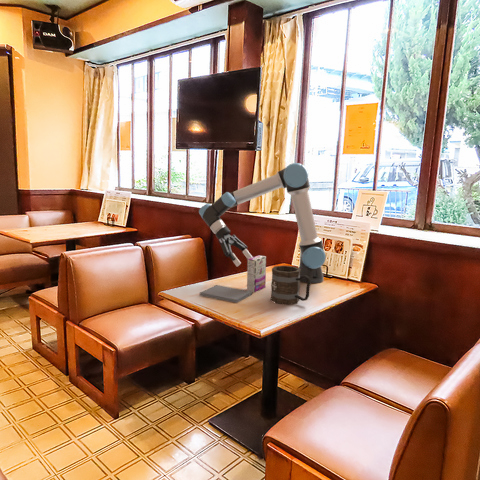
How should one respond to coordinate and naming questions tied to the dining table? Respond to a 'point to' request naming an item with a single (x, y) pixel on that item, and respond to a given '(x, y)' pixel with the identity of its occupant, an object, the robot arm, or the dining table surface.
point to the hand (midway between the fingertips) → (245, 262)
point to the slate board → (226, 293)
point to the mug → (287, 285)
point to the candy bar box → (256, 273)
